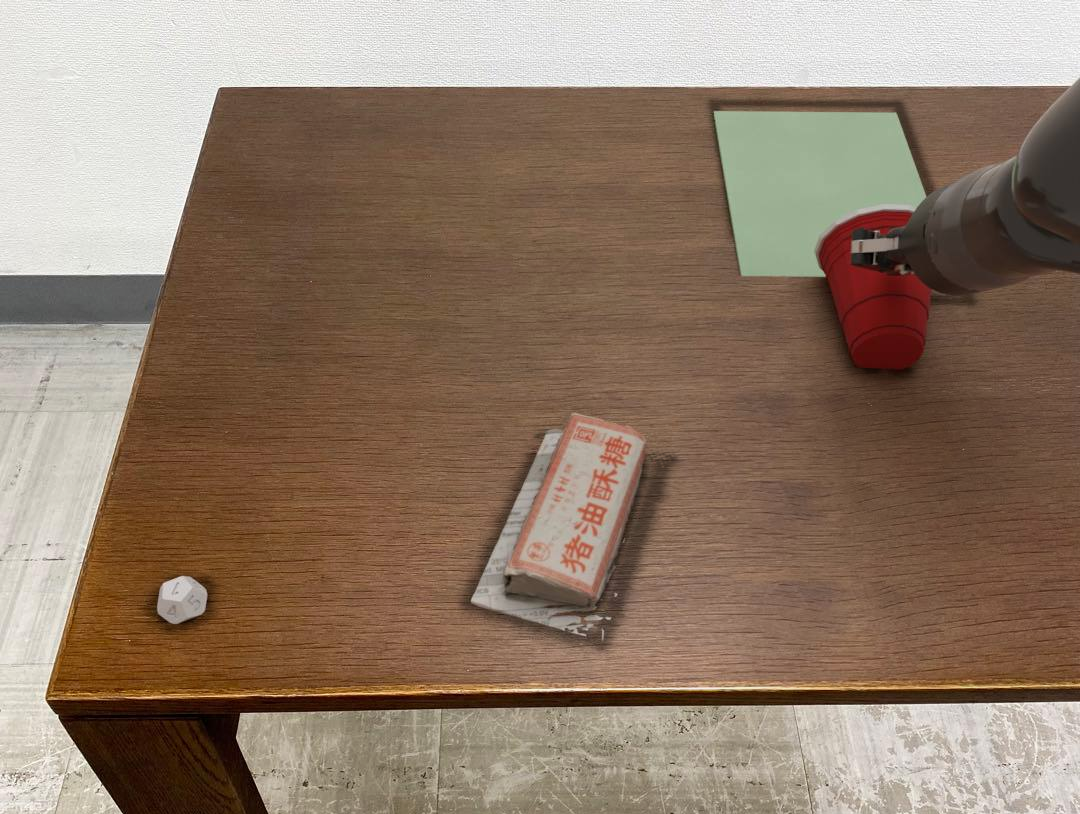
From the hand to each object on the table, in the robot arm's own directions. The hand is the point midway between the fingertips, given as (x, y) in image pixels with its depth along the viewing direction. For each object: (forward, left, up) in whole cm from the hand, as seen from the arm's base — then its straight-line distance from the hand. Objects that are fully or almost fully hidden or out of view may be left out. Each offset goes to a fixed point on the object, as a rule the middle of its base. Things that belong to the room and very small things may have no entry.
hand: (895, 262), depth 83 cm
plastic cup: (0, +5, -6) cm, 7 cm away
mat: (0, -21, -9) cm, 23 cm away
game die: (+54, +28, -10) cm, 62 cm away
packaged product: (+26, +21, -10) cm, 35 cm away
